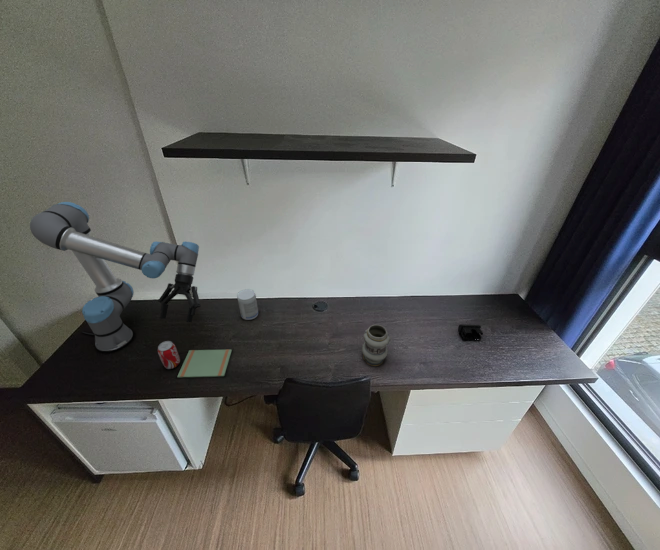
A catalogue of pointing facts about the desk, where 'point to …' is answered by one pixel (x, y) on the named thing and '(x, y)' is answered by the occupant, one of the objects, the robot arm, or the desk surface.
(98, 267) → the robot arm
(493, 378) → the desk surface
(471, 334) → the end cap
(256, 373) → the desk surface
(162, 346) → the soda can
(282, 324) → the desk surface
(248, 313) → the supplement tub
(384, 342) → the apothecary jar
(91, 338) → the desk surface
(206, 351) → the towel
